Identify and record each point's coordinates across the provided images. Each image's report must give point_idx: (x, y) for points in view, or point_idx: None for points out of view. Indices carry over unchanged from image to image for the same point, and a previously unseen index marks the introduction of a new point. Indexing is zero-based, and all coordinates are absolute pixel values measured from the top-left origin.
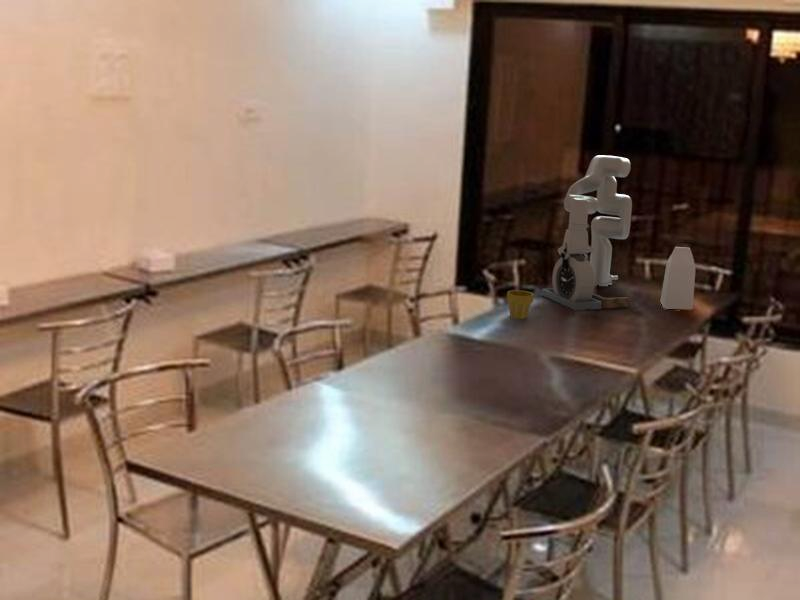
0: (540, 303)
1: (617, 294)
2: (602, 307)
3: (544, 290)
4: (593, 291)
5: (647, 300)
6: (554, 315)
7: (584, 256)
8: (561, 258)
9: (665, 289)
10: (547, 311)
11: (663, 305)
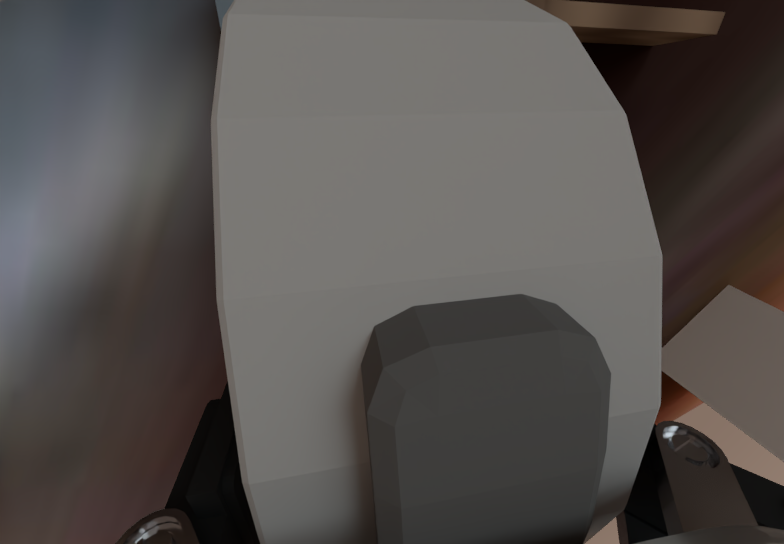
0: (141, 227)
1: (755, 81)
2: None
3: (218, 13)
4: (651, 40)
5: (738, 236)
6: (157, 433)
7: (644, 503)
8: (230, 318)
9: (750, 395)
10: (139, 380)
11: (670, 356)
